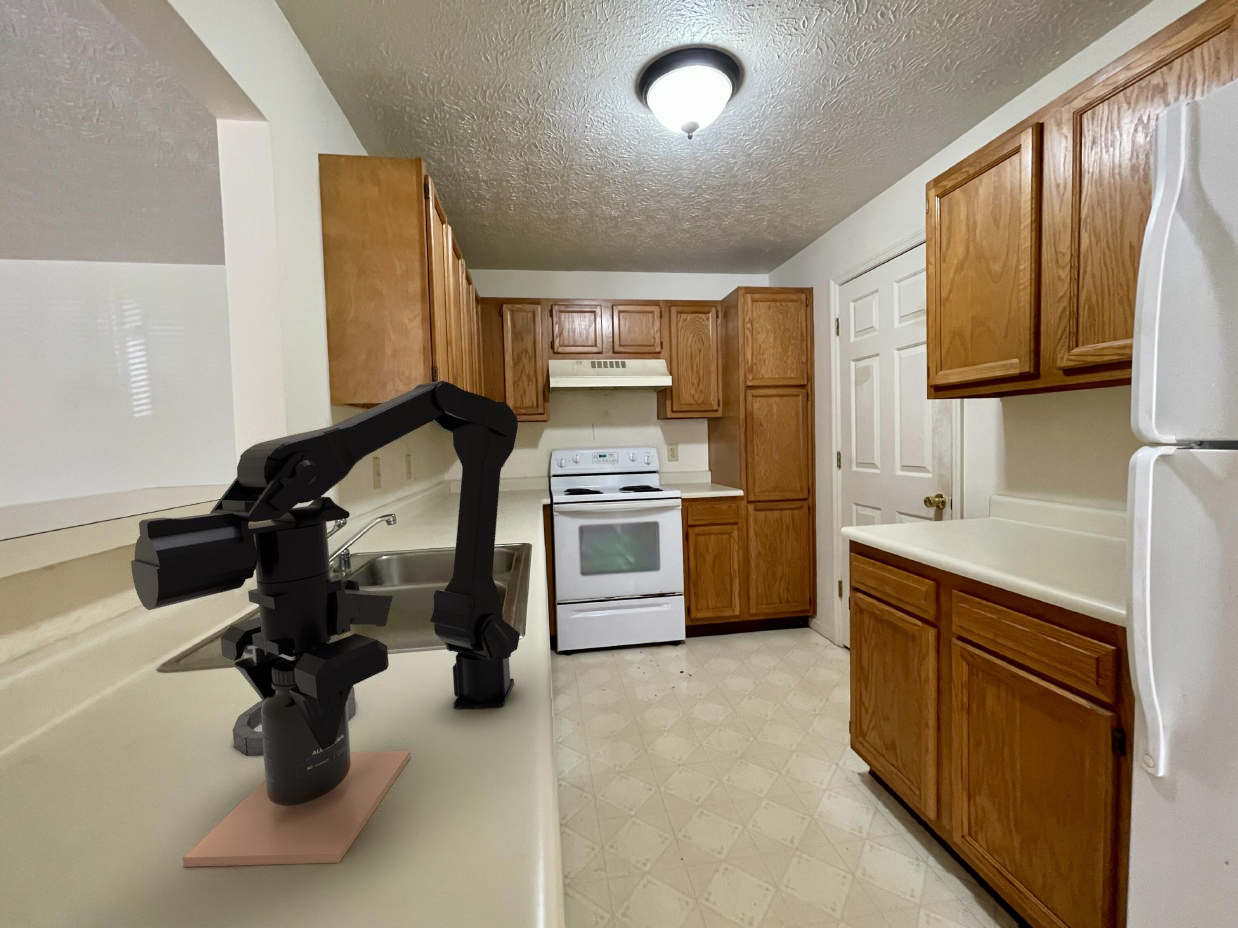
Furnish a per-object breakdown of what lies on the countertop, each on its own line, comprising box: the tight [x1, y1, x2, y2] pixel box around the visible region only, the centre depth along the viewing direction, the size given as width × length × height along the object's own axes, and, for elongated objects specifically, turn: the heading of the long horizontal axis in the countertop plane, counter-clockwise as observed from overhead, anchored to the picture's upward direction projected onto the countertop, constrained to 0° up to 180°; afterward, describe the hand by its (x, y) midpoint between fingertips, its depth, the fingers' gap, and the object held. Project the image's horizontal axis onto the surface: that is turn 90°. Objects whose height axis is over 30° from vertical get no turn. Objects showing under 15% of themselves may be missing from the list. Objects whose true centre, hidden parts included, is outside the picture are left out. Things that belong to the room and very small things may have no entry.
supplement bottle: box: [261, 658, 351, 806], centre depth 46 cm, size 7×7×12 cm
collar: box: [232, 686, 356, 756], centre depth 60 cm, size 12×12×2 cm
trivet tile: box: [182, 750, 411, 868], centre depth 46 cm, size 13×13×1 cm
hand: (308, 735), depth 46 cm, fingers closed on supplement bottle, 7 cm apart
